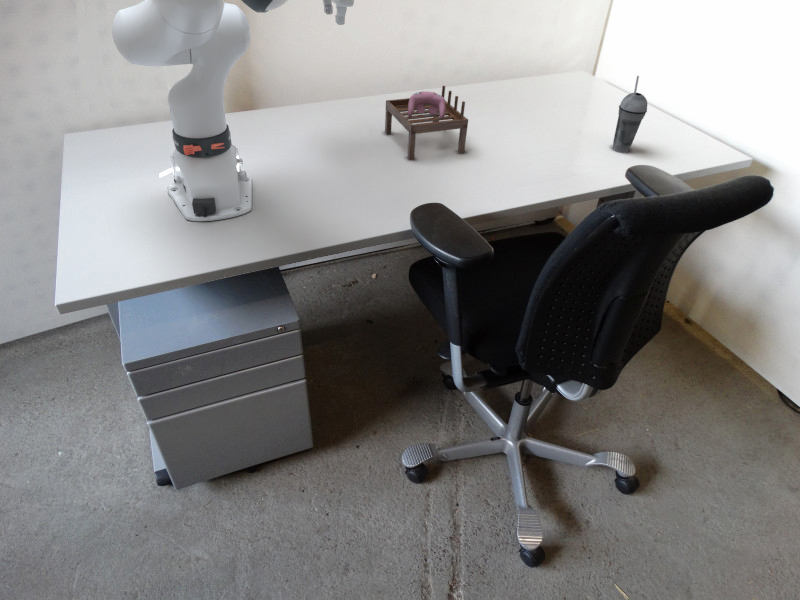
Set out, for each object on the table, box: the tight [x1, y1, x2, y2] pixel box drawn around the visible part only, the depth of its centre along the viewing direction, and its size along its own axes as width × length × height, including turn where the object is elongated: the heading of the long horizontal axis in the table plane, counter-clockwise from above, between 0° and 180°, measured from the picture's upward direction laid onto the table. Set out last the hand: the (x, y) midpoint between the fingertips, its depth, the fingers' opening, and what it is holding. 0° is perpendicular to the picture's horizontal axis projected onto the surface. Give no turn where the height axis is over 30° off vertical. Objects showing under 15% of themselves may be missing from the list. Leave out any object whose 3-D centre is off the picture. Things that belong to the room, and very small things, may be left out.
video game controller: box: [407, 90, 446, 121], centre depth 154 cm, size 10×5×7 cm, turn 85°
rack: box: [384, 85, 469, 161], centre depth 157 cm, size 18×16×13 cm
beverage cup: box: [611, 75, 648, 154], centre depth 157 cm, size 7×7×20 cm
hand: (334, 18), depth 138 cm, fingers open, 8 cm apart
